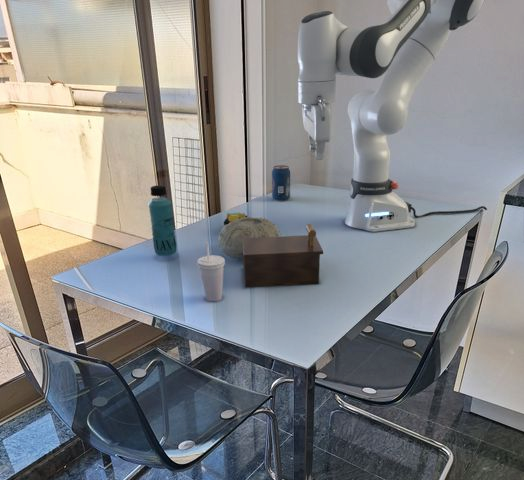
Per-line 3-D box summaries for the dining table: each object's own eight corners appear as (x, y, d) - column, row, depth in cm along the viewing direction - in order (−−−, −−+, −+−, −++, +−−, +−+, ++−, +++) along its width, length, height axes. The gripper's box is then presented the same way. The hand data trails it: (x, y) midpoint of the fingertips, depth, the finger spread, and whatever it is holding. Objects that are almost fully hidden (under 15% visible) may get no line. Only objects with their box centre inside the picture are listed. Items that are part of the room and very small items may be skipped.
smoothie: (201, 293, 124) (195, 238, 116) (227, 291, 124) (223, 236, 117) (200, 304, 118) (194, 247, 111) (227, 302, 119) (223, 246, 111)
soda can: (273, 196, 198) (272, 165, 191) (290, 196, 197) (290, 164, 191) (271, 201, 192) (271, 168, 186) (289, 201, 191) (289, 168, 185)
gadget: (249, 227, 170) (248, 210, 168) (244, 233, 158) (243, 215, 156) (230, 226, 171) (230, 210, 169) (223, 233, 159) (223, 215, 156)
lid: (315, 237, 133) (315, 219, 130) (323, 254, 122) (324, 234, 120) (242, 241, 132) (241, 222, 129) (243, 258, 122) (242, 238, 119)
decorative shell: (271, 269, 135) (270, 233, 130) (209, 264, 140) (206, 228, 134) (287, 247, 149) (287, 213, 144) (231, 242, 154) (229, 210, 149)
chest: (311, 265, 137) (312, 237, 133) (318, 283, 127) (319, 254, 122) (243, 269, 136) (242, 241, 132) (245, 287, 126) (243, 258, 122)
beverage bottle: (151, 259, 143) (140, 188, 133) (162, 251, 149) (153, 182, 138) (171, 262, 141) (161, 190, 131) (182, 254, 147) (174, 184, 136)
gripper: (338, 98, 110) (336, 163, 118) (322, 89, 128) (322, 147, 135) (309, 99, 110) (309, 165, 118) (298, 91, 127) (298, 148, 135)
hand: (316, 155), depth 126 cm, fingers open, 8 cm apart
